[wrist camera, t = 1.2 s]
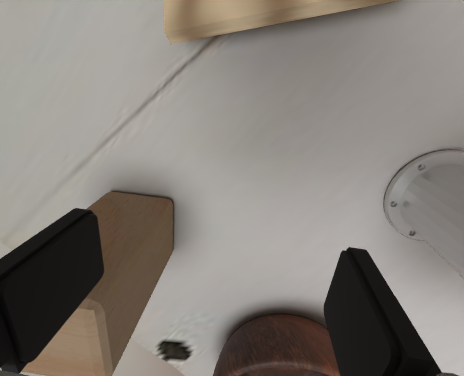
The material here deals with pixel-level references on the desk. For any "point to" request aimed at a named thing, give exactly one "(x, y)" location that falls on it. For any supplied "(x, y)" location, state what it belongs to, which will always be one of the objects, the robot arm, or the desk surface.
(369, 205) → the desk surface
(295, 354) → the wooden bowl
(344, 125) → the desk surface
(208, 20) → the board
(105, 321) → the wooden block
